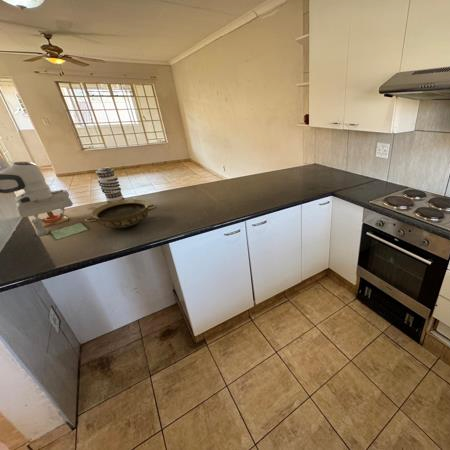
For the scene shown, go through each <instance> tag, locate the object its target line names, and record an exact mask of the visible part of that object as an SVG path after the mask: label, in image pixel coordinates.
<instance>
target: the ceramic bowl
mask: <svg viewBox="0 0 450 450" xmlns="http://www.w3.org/2000/svg"><path fill="white" fill-rule="evenodd" d="M156 208H157V205H156V204H150V203H149V201H147V200H145V199H139V198H135V199H134V198H131V199H124V200H120V201H115V202H111V203H108V204H107V203H105V204H102V205H100V206H98V207H96V208H95V209H94V210H92V211H91V213H90V215H91V217H88V218H85V219H84V222H85V223H97V224H99V225H100V226H101V227H103V228H111V229H128V228H131V227H134V226H135V225H136V224H138V223H140V222H142V221H144V220H145V219H146V218H147V216H148V215H149V212H150V211H153V210H154V209H155V210H156Z"/></svg>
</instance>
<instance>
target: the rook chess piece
mask: <svg viewBox="0 0 450 450" xmlns="http://www.w3.org/2000/svg"><path fill="white" fill-rule="evenodd" d="M34 218H35V217H34ZM34 218H32V219H30V220H31V221H30V222H31V224H32V225H33V226H34V228H35V234H36V236H40V237H41V236H45V235H47V234H49V233H50V231H49V229H48V228H47V227H43V226H42V224H41V222H40V221H41V220H40V219H39V218H40V217H39V218H35V219H34Z"/></svg>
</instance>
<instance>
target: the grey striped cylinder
mask: <svg viewBox="0 0 450 450" xmlns="http://www.w3.org/2000/svg"><path fill="white" fill-rule="evenodd" d="M95 173H96V176H97V179H98V181H97V183H98V186H99V187H100V189H101V192H102V193H103V194H104V196H105V199H106V204H108V203H111V202H115V201H120V200H125V197H124V196H123V194H122V188H121V184H119V183H120V181H119V178H118V177H117V175H116V174H115V170H114V168H112V167H110V166H102V167H98V168H97V169H96V171H95Z"/></svg>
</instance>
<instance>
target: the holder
mask: <svg viewBox="0 0 450 450" xmlns="http://www.w3.org/2000/svg"><path fill="white" fill-rule="evenodd" d="M46 214H47V217H49V218H50V219H53V218H55V217H54V215H55V214H54V213H53V211H50V212H46ZM68 221H69V218H68V217H67V216H66V215H65V216H63V217H62V218H61V219H60V220H58V221H55V222H50V223H49V222H48V223H45V222H41V224H42V226H43V227H44V228H47V227H50V226H53V225H57V224H58V225H59V224H61V223H65V222H68Z"/></svg>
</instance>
